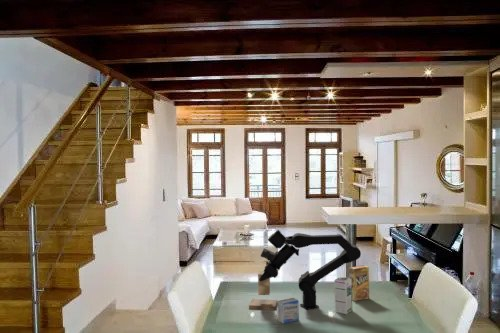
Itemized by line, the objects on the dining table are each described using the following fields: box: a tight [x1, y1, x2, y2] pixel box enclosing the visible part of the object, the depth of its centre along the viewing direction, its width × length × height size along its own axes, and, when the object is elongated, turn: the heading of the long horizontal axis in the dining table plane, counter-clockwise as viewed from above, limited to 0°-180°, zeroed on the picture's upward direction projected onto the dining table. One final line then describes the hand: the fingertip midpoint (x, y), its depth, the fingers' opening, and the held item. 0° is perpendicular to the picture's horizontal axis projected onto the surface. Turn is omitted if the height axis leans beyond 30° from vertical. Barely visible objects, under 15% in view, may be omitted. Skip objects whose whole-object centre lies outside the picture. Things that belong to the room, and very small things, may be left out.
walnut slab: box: [248, 298, 278, 311], centre depth 202 cm, size 12×9×2 cm
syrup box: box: [333, 276, 353, 315], centre depth 193 cm, size 6×6×14 cm
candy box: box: [348, 264, 370, 302], centre depth 210 cm, size 9×4×15 cm, turn 113°
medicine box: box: [277, 297, 300, 325], centre depth 184 cm, size 8×4×9 cm, turn 118°
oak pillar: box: [257, 270, 271, 296], centre depth 202 cm, size 5×5×10 cm
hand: (260, 279), depth 202 cm, fingers closed on oak pillar, 5 cm apart
